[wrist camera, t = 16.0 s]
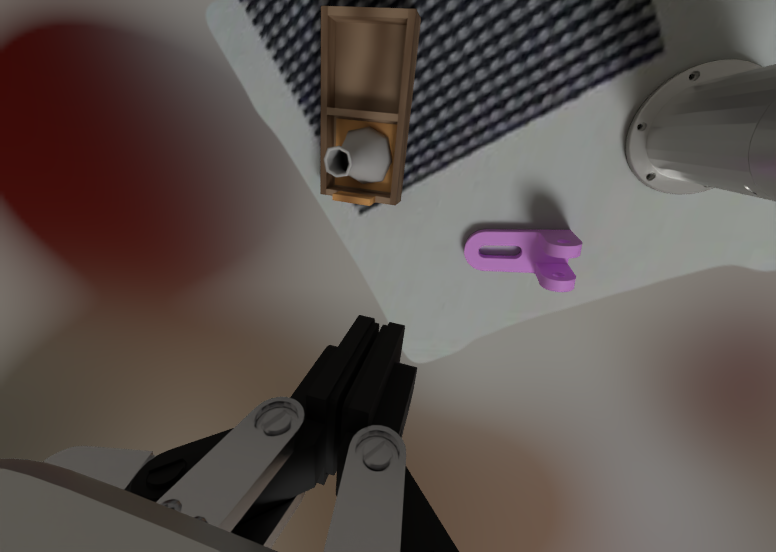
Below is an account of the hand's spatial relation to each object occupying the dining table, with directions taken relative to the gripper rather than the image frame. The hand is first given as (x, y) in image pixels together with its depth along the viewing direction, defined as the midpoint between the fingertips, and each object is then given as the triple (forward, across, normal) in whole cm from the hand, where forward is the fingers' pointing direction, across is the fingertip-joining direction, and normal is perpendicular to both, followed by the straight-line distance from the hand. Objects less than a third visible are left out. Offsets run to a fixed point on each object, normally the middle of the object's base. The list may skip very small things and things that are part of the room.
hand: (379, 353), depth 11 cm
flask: (+34, +12, -3) cm, 36 cm away
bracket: (+35, -10, +6) cm, 37 cm away
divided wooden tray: (+35, +12, -8) cm, 38 cm away
